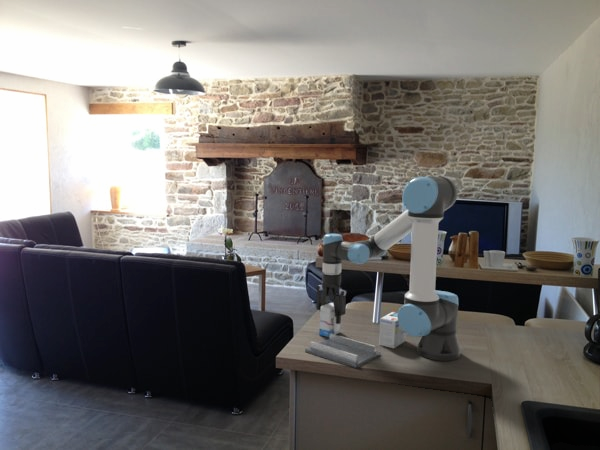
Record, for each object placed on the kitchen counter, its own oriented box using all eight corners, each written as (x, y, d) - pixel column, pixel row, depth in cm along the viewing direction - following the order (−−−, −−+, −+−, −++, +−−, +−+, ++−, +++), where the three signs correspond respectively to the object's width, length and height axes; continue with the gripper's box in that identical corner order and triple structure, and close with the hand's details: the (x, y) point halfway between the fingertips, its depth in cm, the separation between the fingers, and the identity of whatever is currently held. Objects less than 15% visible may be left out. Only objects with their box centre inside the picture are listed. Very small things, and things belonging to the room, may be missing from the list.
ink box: (329, 337, 207) (330, 308, 206) (318, 335, 210) (319, 306, 209) (341, 332, 214) (341, 304, 212) (330, 329, 217) (331, 301, 215)
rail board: (380, 354, 190) (380, 345, 190) (355, 368, 178) (356, 358, 178) (331, 340, 204) (331, 331, 204) (305, 351, 192) (305, 342, 192)
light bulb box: (390, 337, 209) (391, 311, 208) (406, 341, 205) (407, 314, 204) (378, 345, 201) (379, 317, 199) (394, 349, 197) (395, 321, 195)
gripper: (356, 275, 206) (354, 332, 209) (319, 267, 217) (317, 322, 220) (345, 278, 200) (343, 337, 203) (307, 270, 212) (306, 326, 215)
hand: (330, 329), depth 212 cm, fingers open, 5 cm apart
